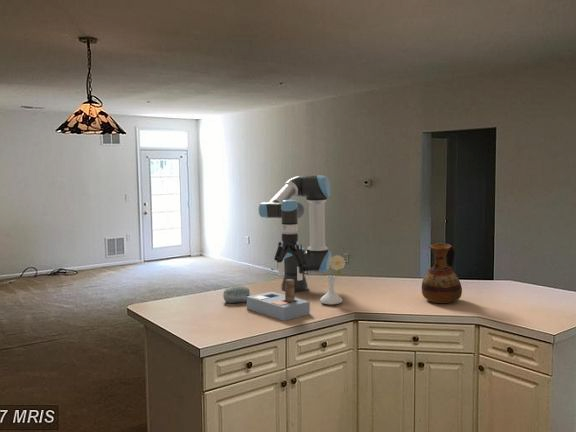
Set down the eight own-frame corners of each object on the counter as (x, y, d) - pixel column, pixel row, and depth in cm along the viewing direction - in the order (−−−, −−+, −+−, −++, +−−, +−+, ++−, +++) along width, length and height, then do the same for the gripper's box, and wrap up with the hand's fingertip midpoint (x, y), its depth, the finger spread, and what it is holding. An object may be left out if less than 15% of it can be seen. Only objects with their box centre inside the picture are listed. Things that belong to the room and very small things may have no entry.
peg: (283, 313, 243) (283, 280, 241) (290, 311, 245) (290, 278, 244) (289, 315, 239) (289, 281, 238) (296, 313, 242) (296, 280, 241)
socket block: (246, 308, 251) (246, 296, 251) (271, 302, 262) (271, 290, 261) (283, 320, 230) (283, 307, 230) (309, 314, 241) (309, 300, 240)
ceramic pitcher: (414, 301, 263) (415, 243, 261) (432, 294, 278) (433, 239, 275) (450, 308, 250) (451, 247, 247) (467, 300, 265) (469, 242, 262)
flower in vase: (317, 305, 257) (317, 256, 255) (323, 299, 267) (323, 252, 265) (342, 307, 252) (342, 257, 250) (348, 302, 263) (348, 253, 261)
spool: (250, 292, 272) (246, 278, 266) (252, 304, 264) (248, 290, 258) (225, 299, 270) (220, 285, 265) (227, 311, 263) (222, 297, 257)
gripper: (266, 231, 246) (267, 274, 248) (302, 236, 227) (302, 283, 229) (278, 230, 251) (279, 272, 253) (314, 234, 232) (314, 280, 234)
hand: (290, 277), depth 241 cm, fingers open, 13 cm apart
